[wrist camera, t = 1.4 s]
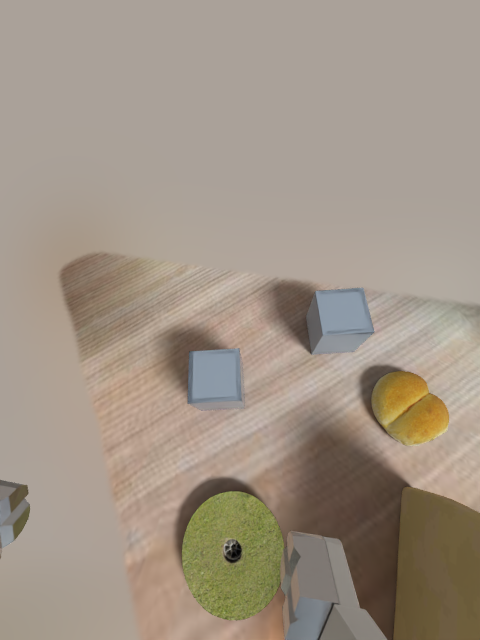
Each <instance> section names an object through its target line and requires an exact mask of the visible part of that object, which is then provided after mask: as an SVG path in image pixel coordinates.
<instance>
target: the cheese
mask: <svg viewBox="0 0 480 640" xmlns="http://www.w3.org/2000/svg"><path fill="white" fill-rule="evenodd" d="M393 640H480V513H479V512H477V511H475V510H473V509H471V508H469V507H467V506H465V505H463V504H461V503H458V502H456V501H454V500H452V499H449V498H446V497H444V496H440V495H437V494H434V493H430V492H427V491H424V490H420V489H417V488H412V487H404V488H403V490H402V496H401V513H400V530H399V547H398V567H397V588H396V606H395V621H394V634H393Z"/></svg>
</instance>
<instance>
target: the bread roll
mask: <svg viewBox="0 0 480 640" xmlns="http://www.w3.org/2000/svg"><path fill="white" fill-rule="evenodd" d="M371 404H372V409H373V412H374V415H375V417H376V419H377V420H378V422H379V423H380V424H381V425H382V426H383V427H384V429H385V430H386V432H387V433H388V434H389V435H390V436H391V437H392V438H394V439H395V440H396V441H398V442H400V443H402V444H403V445H406V446H419V445H421V444H422V443H426V442H430V441H431V440H434V439H435V438H436V437H438V436H440V435H441V434H443V433H445V432H446V431H447V430H448V428H447V426H448V423H449V413H448V410H447V408H446V406H445V404H444V403H443V401H442V400H441V399H439V398H438V397H436V396H435V395H433V394H430V393H429V390H428V386H427V383H426V382H425V380H424V379H422V378H421V377H420V376H418V375H416V374H414V373H411V372H405V371H398V372H391V373H388V374H386V375H384V376H383V377H381V378H380V379H379V380H378V381H377V383H376V385H375V387H374V389H373V392H372V398H371Z"/></svg>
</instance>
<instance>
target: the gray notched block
mask: <svg viewBox="0 0 480 640" xmlns="http://www.w3.org/2000/svg"><path fill="white" fill-rule="evenodd" d="M306 321H307V328H308V334H309V341H310V348H311V354H328V353H345V352H354V351H355V350H356V349H357V348H358V347H359V346H360V345H361V344H362V343H363V342H365V341H366V340H367V339H368V338H369V337H370V336H371V335H372V334H373V333H374V328H373V324H372V320H371V317H370V313H369V309H368V305H367V301H366V297H365V293H364V289H363V288H352V289H338V290H323V291H315V293H314V296H313V299H312V301H311V304H310V307H309V310H308V312H307V315H306Z"/></svg>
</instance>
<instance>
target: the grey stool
mask: <svg viewBox="0 0 480 640" xmlns="http://www.w3.org/2000/svg"><path fill="white" fill-rule="evenodd" d="M188 404H190V405H192V406H193V407H195V408H197V409H199V410H201V411H206V410H225V409H244V408H245V397H244V376H243V363H242V359H241V354H240V349H239V348H238V349H222V350H206V351H189V376H188Z"/></svg>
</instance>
